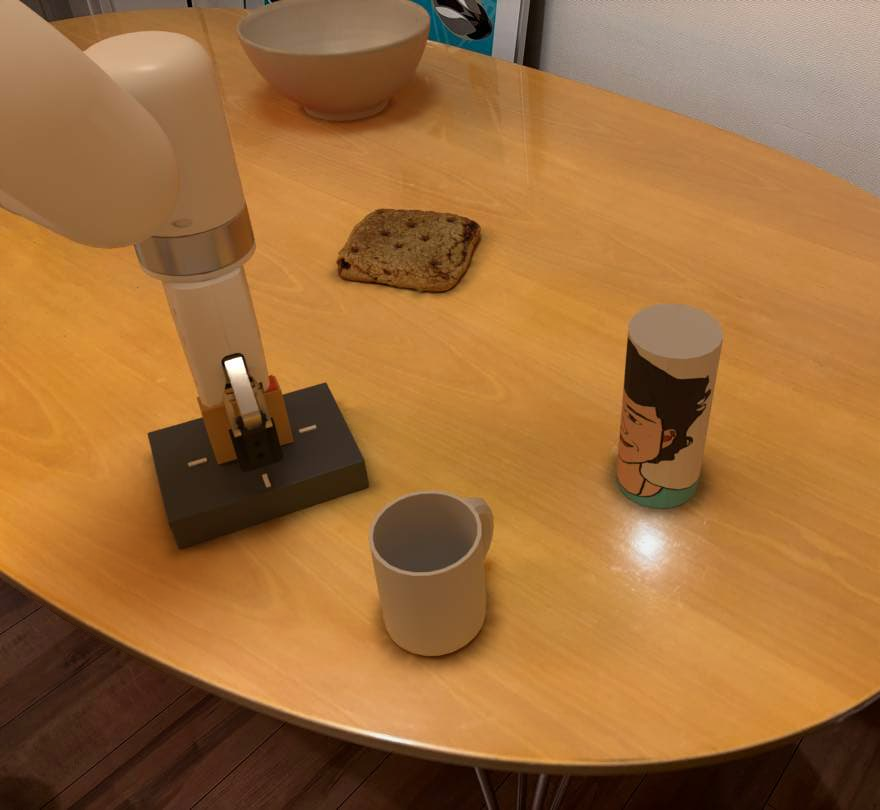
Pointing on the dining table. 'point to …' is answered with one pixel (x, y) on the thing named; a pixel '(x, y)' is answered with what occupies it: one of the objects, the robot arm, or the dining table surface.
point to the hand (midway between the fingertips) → (249, 428)
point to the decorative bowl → (336, 52)
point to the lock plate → (256, 471)
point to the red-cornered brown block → (220, 423)
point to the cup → (432, 569)
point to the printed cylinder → (666, 403)
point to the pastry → (409, 249)
